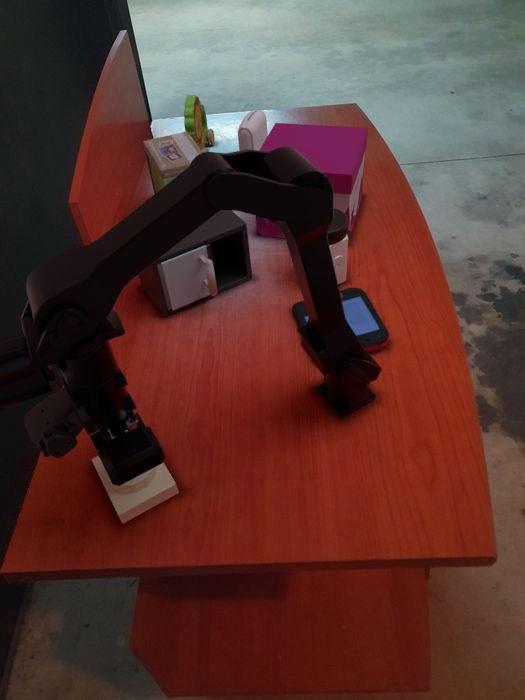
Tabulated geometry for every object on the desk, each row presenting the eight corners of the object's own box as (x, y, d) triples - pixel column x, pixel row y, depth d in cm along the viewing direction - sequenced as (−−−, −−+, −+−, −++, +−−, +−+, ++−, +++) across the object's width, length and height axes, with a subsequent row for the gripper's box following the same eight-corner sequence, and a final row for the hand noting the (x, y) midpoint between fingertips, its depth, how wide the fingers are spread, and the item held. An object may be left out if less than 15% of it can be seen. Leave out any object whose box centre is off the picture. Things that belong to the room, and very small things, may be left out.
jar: (317, 296, 101) (317, 239, 92) (290, 274, 106) (288, 218, 97) (356, 277, 104) (360, 220, 95) (328, 256, 109) (329, 200, 100)
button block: (179, 492, 75) (173, 476, 72) (122, 524, 72) (114, 508, 69) (148, 441, 81) (142, 424, 78) (95, 468, 78) (87, 451, 76)
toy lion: (195, 141, 148) (186, 80, 137) (216, 140, 147) (208, 79, 136) (185, 171, 137) (173, 108, 126) (207, 171, 136) (198, 107, 125)
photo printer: (256, 177, 132) (252, 124, 124) (239, 175, 134) (234, 123, 125) (271, 156, 139) (268, 105, 130) (254, 154, 140) (250, 104, 131)
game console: (291, 308, 99) (290, 298, 97) (360, 293, 101) (361, 283, 99) (315, 366, 89) (315, 356, 87) (392, 349, 90) (394, 339, 89)
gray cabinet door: (227, 301, 100) (220, 254, 92) (181, 321, 97) (170, 274, 90) (216, 290, 102) (209, 243, 95) (171, 309, 99) (160, 262, 92)
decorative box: (348, 245, 111) (352, 174, 100) (255, 236, 115) (249, 167, 105) (363, 195, 123) (368, 127, 113) (279, 188, 128) (275, 122, 117)
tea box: (219, 225, 119) (209, 158, 109) (173, 237, 117) (158, 171, 107) (198, 192, 129) (187, 128, 119) (155, 203, 127) (140, 139, 117)
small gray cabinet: (252, 278, 106) (246, 223, 97) (164, 317, 100) (150, 261, 91) (226, 253, 112) (218, 199, 103) (142, 288, 106) (126, 233, 98)
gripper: (-5, 350, 64) (42, 433, 75) (41, 467, 53) (89, 545, 64) (89, 312, 68) (121, 396, 79) (151, 413, 56) (179, 495, 67)
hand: (125, 453), depth 72 cm, fingers closed
